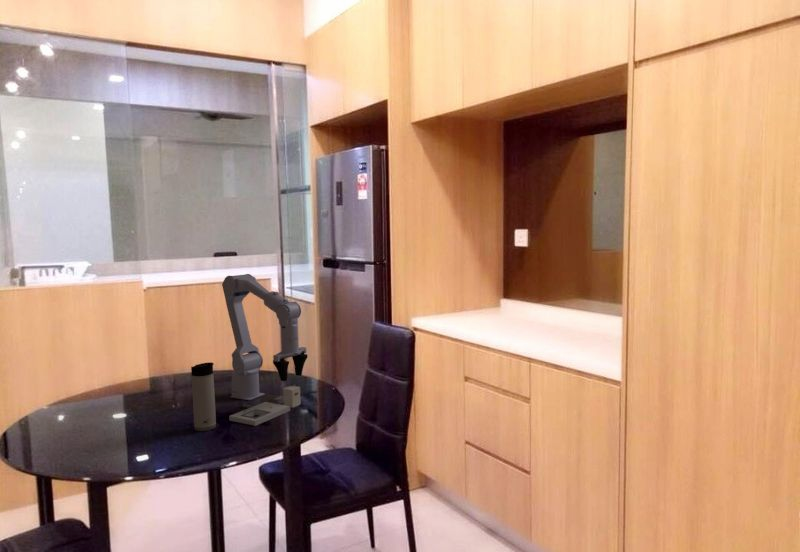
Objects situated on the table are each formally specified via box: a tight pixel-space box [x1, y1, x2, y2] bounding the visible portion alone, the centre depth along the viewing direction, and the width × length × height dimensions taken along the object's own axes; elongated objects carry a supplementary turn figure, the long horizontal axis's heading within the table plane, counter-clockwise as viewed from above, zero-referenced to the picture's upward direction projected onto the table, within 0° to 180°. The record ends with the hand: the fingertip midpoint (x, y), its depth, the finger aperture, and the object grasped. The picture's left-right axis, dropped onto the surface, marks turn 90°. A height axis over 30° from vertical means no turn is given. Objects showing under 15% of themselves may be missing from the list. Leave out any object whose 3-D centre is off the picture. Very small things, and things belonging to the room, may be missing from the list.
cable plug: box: [272, 395, 284, 405], centre depth 190 cm, size 10×2×2 cm, turn 150°
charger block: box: [282, 385, 301, 408], centre depth 189 cm, size 4×4×6 cm
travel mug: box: [190, 362, 217, 432], centre depth 168 cm, size 6×7×20 cm
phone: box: [242, 394, 279, 409], centre depth 192 cm, size 6×12×1 cm, turn 150°
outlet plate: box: [228, 402, 291, 427], centre depth 179 cm, size 11×16×2 cm
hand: (291, 378), depth 189 cm, fingers open, 7 cm apart
